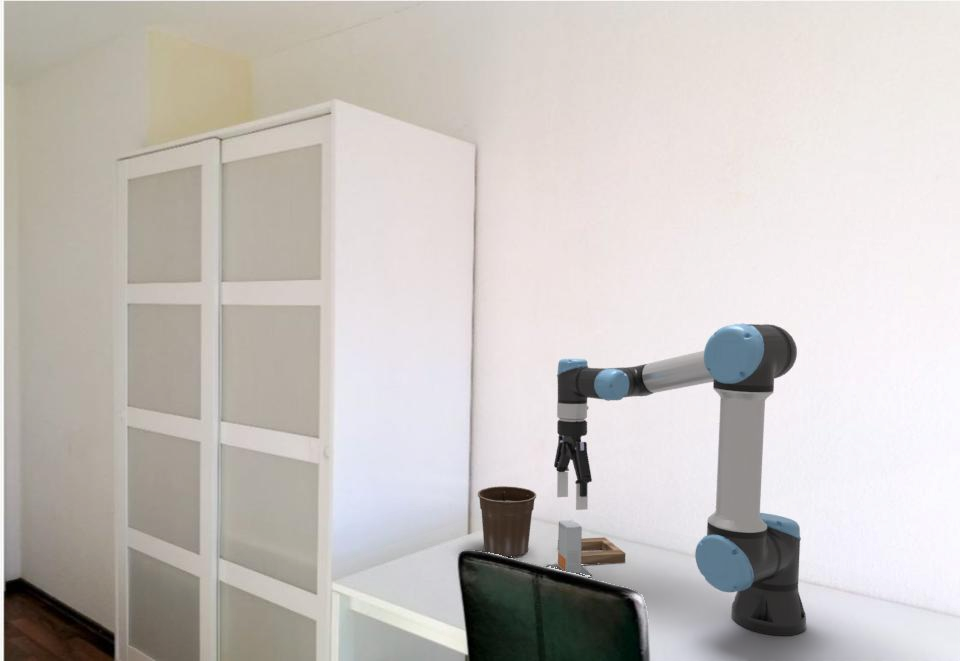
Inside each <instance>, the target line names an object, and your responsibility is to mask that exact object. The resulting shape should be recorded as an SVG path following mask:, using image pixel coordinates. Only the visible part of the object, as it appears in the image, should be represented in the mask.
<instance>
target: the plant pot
mask: <svg viewBox="0 0 960 661" xmlns="http://www.w3.org/2000/svg"><path fill="white" fill-rule="evenodd" d="M477 497H478V498H479V508H480V510H481V520H482V521H481V523H482V533H483V536H482V537H483V549H484V552H485V553H486V552H490V553H494V554H499V555H502V556H506V558H507V557H511V556H512V557H511V558H513V559H514V558H517V557H518V556H520V557H522V555H523V556H524V555H525V556H526V554H527V553H528V552H529V542H530V535H531V534H530V533H531V524H532V514H533V511H534V509H535V508H534V506H535V499H537V493H536V492H535V491H533V490H531V489H528V488H525V487H517V486H505V485H504V486H503V485H502V486H501V485H500V486H491V487H487V488H482V489H480V490H479V491H478V492H477Z"/></svg>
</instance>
